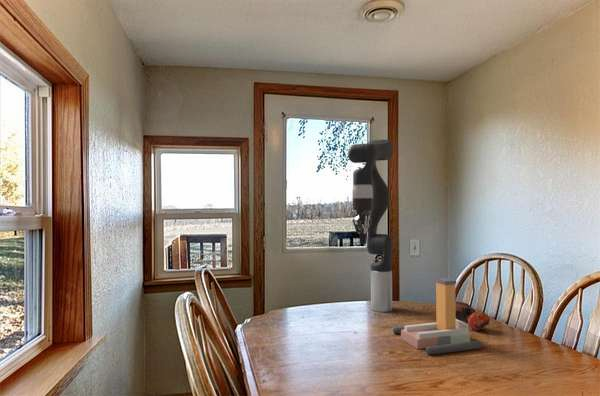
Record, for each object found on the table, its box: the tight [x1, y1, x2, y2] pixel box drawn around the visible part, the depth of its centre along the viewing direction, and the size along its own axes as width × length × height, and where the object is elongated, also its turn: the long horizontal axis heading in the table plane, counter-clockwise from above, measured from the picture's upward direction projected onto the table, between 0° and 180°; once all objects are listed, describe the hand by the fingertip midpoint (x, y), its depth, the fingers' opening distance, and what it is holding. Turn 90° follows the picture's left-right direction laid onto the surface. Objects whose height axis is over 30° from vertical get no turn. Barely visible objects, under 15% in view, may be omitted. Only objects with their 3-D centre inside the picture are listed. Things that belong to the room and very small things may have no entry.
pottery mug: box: [456, 301, 476, 323], centre depth 154 cm, size 12×10×8 cm
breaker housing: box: [400, 319, 471, 350], centre depth 130 cm, size 20×10×6 cm, turn 106°
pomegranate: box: [467, 310, 491, 334], centre depth 141 cm, size 7×7×10 cm
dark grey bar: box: [425, 340, 483, 356], centre depth 121 cm, size 20×2×2 cm, turn 106°
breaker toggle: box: [434, 277, 457, 330], centre depth 132 cm, size 4×5×17 cm
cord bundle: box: [392, 325, 405, 335], centre depth 140 cm, size 20×2×2 cm, turn 106°
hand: (363, 243), depth 142 cm, fingers closed
